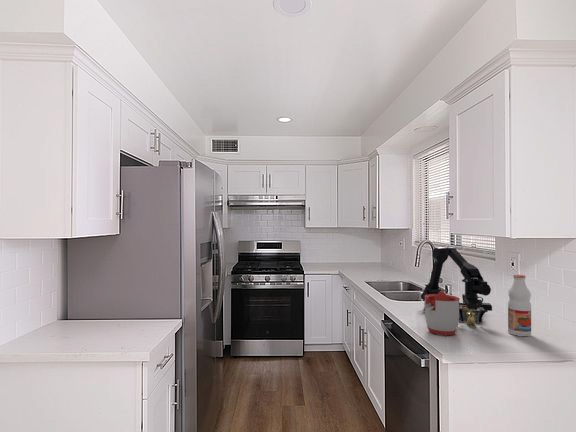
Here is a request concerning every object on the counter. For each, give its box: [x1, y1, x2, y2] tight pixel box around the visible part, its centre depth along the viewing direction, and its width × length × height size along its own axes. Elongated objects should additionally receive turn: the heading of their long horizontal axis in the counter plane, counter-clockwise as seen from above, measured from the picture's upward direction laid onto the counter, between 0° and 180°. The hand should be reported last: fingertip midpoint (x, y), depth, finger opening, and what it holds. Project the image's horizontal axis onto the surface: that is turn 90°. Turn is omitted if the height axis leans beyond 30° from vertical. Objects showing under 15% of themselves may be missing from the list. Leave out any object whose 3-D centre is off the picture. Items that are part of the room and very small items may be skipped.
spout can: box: [466, 311, 476, 327], centre depth 190 cm, size 4×4×8 cm
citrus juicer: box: [423, 290, 460, 337], centre depth 177 cm, size 16×17×20 cm
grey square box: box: [459, 306, 483, 323], centre depth 203 cm, size 12×12×8 cm
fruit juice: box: [507, 274, 532, 337], centre depth 176 cm, size 9×9×28 cm
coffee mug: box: [461, 292, 484, 303], centre depth 219 cm, size 12×9×10 cm
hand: (471, 322), depth 190 cm, fingers open, 8 cm apart
